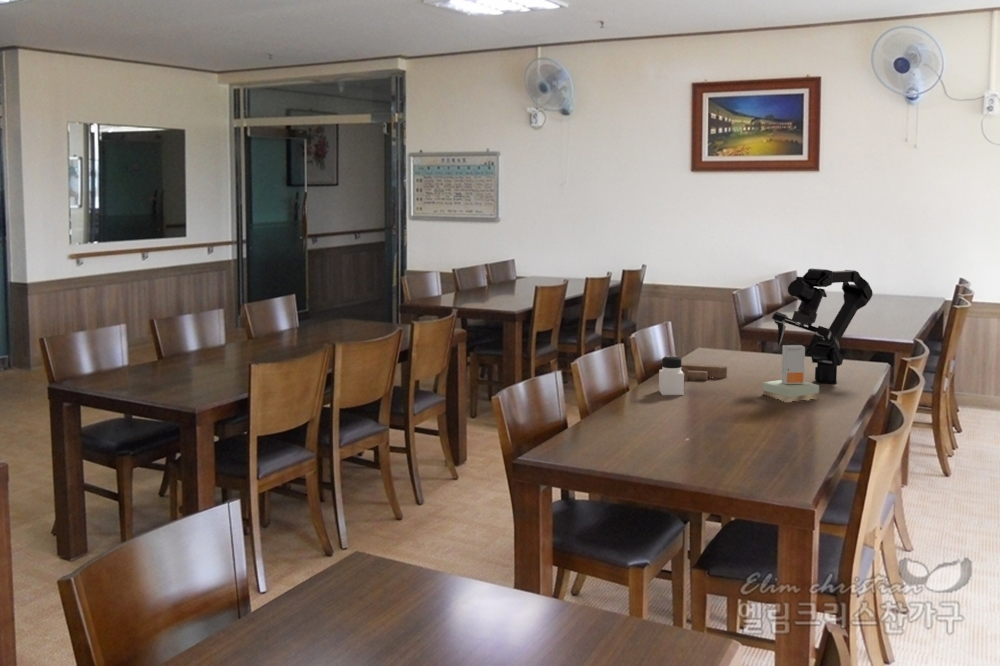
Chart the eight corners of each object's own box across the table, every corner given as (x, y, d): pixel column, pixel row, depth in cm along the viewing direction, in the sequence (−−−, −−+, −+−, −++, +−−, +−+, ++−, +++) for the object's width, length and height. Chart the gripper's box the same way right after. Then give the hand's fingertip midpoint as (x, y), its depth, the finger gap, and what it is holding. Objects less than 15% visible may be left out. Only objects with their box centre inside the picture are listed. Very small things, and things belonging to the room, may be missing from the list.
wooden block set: (675, 359, 335) (727, 362, 329) (675, 375, 335) (726, 378, 330) (668, 368, 319) (722, 371, 313) (667, 384, 320) (722, 387, 314)
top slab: (792, 385, 305) (792, 378, 305) (818, 393, 294) (819, 385, 294) (762, 389, 300) (763, 382, 300) (788, 397, 289) (789, 389, 289)
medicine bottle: (684, 395, 302) (685, 358, 300) (662, 395, 302) (662, 358, 300) (680, 390, 309) (681, 354, 307) (658, 390, 309) (659, 354, 307)
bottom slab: (794, 393, 305) (795, 386, 305) (818, 401, 294) (818, 393, 294) (763, 397, 301) (763, 389, 301) (785, 405, 290) (786, 397, 290)
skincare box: (785, 384, 295) (785, 346, 293) (781, 382, 299) (782, 345, 298) (804, 384, 295) (805, 346, 293) (800, 382, 299) (801, 344, 298)
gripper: (778, 292, 305) (760, 337, 305) (835, 310, 297) (817, 356, 297) (783, 298, 315) (766, 341, 315) (838, 316, 307) (821, 360, 307)
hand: (792, 350), depth 308 cm, fingers open, 9 cm apart
